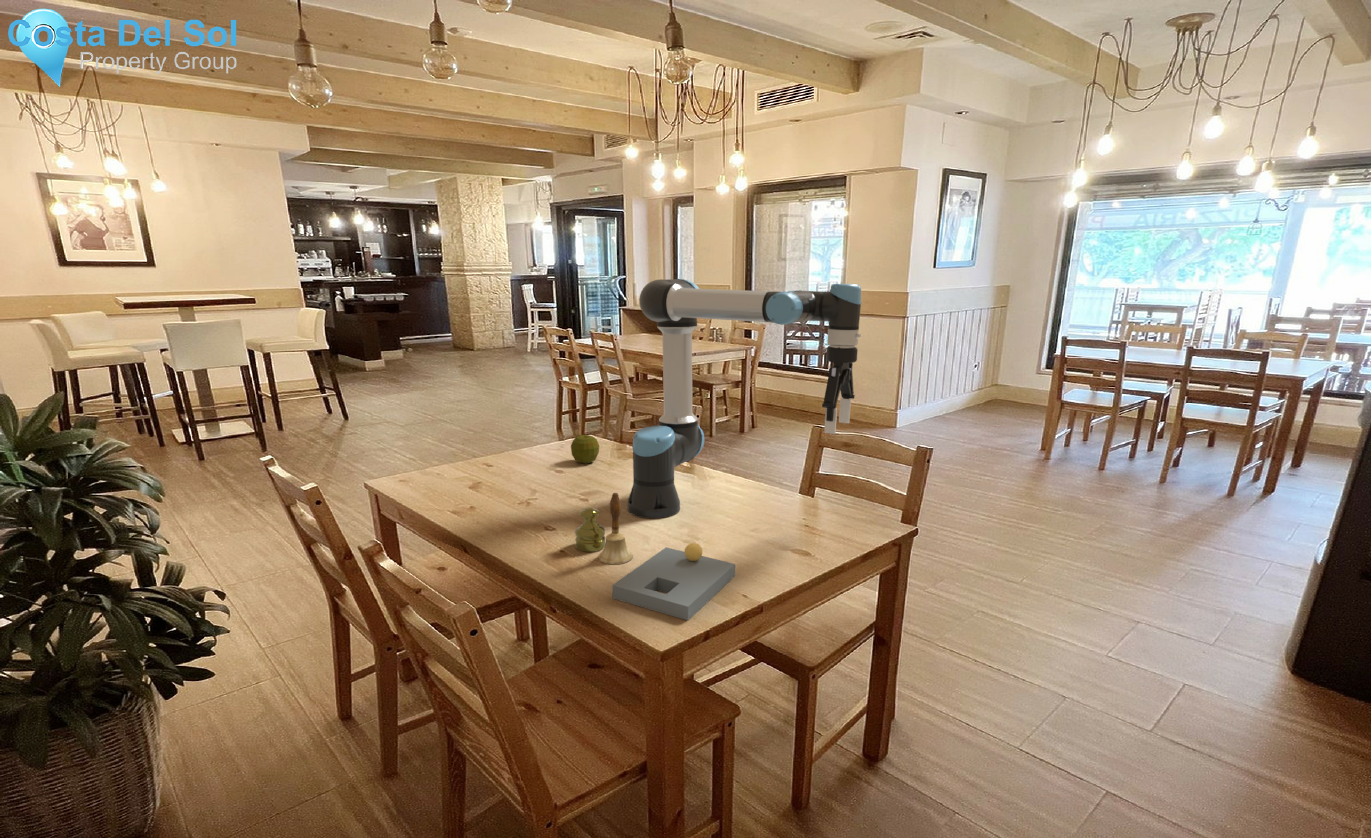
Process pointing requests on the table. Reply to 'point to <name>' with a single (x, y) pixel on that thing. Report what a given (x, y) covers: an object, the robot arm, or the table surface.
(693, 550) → the ball
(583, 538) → the olive green tall piece
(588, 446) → the apple
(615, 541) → the hand bell
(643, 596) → the board
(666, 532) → the table surface
